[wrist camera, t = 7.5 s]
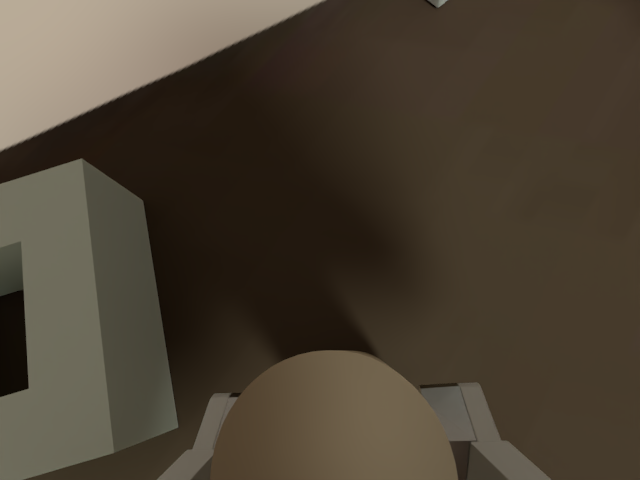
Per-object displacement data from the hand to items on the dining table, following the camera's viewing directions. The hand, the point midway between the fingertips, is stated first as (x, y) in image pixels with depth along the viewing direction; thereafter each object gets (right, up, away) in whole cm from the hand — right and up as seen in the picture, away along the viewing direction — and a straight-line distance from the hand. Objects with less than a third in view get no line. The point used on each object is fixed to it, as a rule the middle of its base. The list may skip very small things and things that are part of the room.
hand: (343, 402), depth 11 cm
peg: (+1, -2, +6) cm, 7 cm away
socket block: (-15, -1, +10) cm, 18 cm away
